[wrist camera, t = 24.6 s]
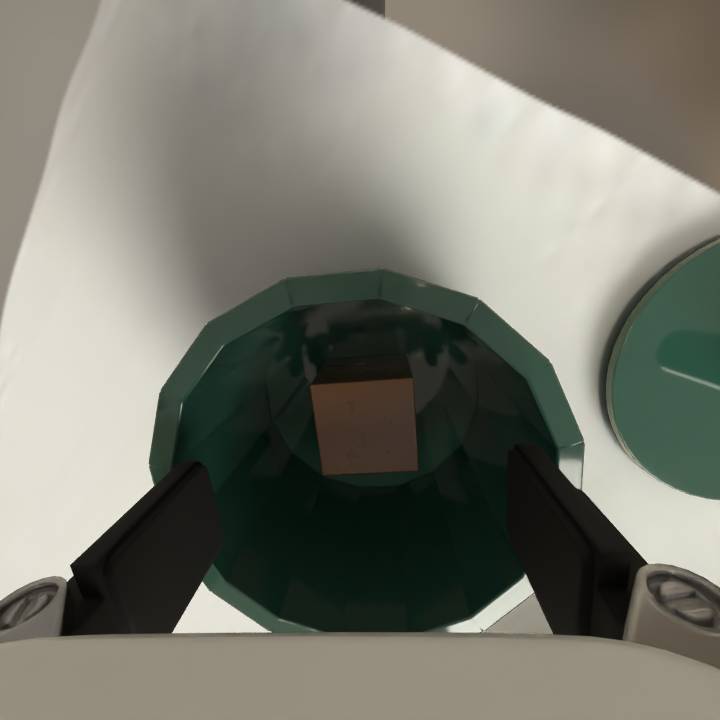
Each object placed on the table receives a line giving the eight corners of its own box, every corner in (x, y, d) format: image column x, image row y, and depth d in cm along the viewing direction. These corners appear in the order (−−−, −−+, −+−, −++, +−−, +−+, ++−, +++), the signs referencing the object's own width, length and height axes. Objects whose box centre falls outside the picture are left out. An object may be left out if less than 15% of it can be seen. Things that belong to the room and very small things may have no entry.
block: (326, 359, 19) (309, 384, 15) (406, 352, 19) (413, 377, 14) (335, 432, 20) (322, 476, 16) (411, 427, 20) (419, 471, 15)
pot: (237, 285, 19) (100, 297, 10) (488, 259, 18) (599, 245, 9) (276, 496, 22) (199, 654, 13) (489, 487, 21) (571, 655, 12)
